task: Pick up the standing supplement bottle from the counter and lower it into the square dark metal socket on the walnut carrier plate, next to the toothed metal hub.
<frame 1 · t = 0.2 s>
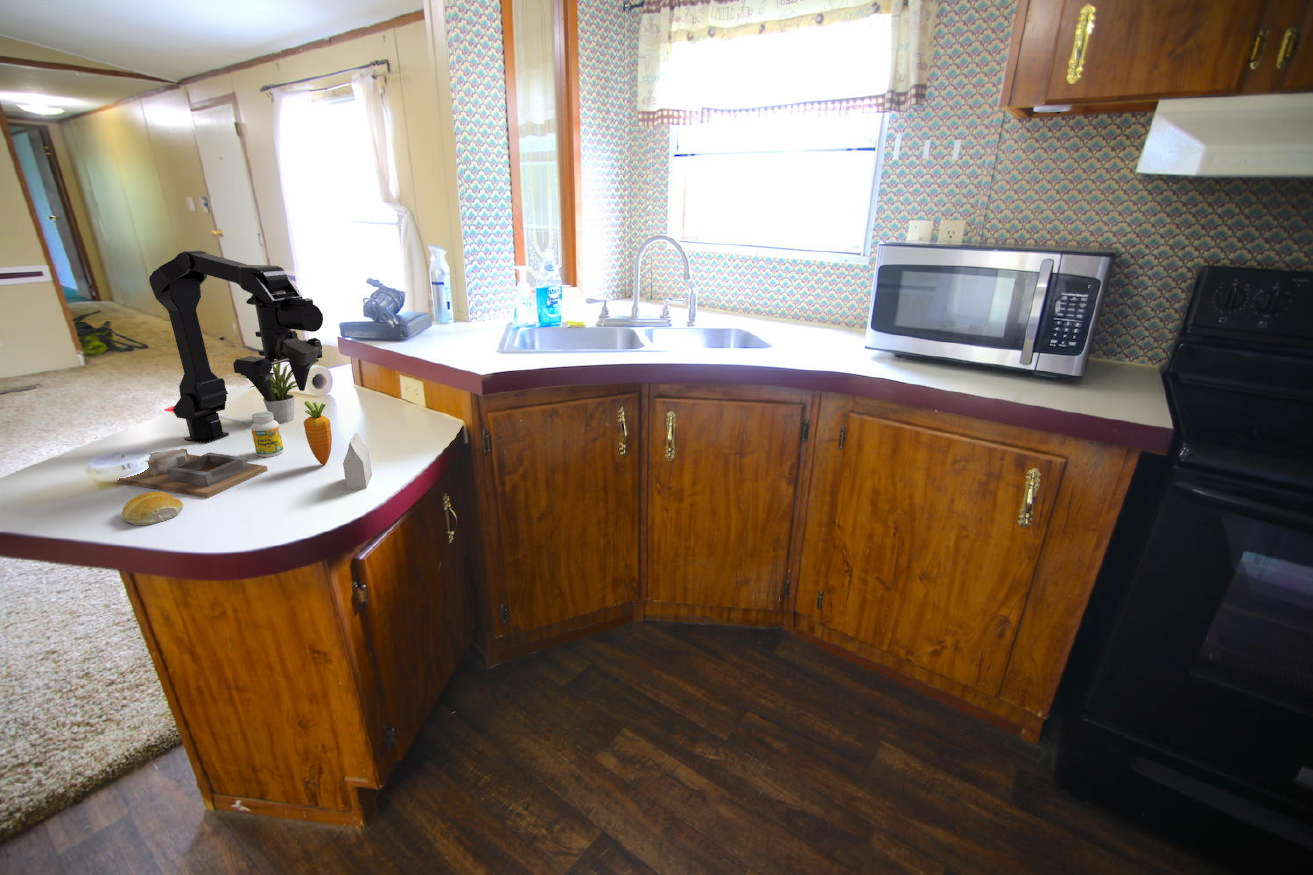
hand: (286, 396, 133), 14 cm above the worktop, tool pointing down, fingers open, 9 cm apart
gray house shaped block: (360, 483, 125), on the worktop
carrier plate: (195, 476, 124), on the worktop
bread roll: (155, 516, 108), on the worktop
carrot: (324, 466, 132), on the worktop
house plant: (287, 419, 159), on the worktop
supplement bottle: (270, 454, 137), on the worktop
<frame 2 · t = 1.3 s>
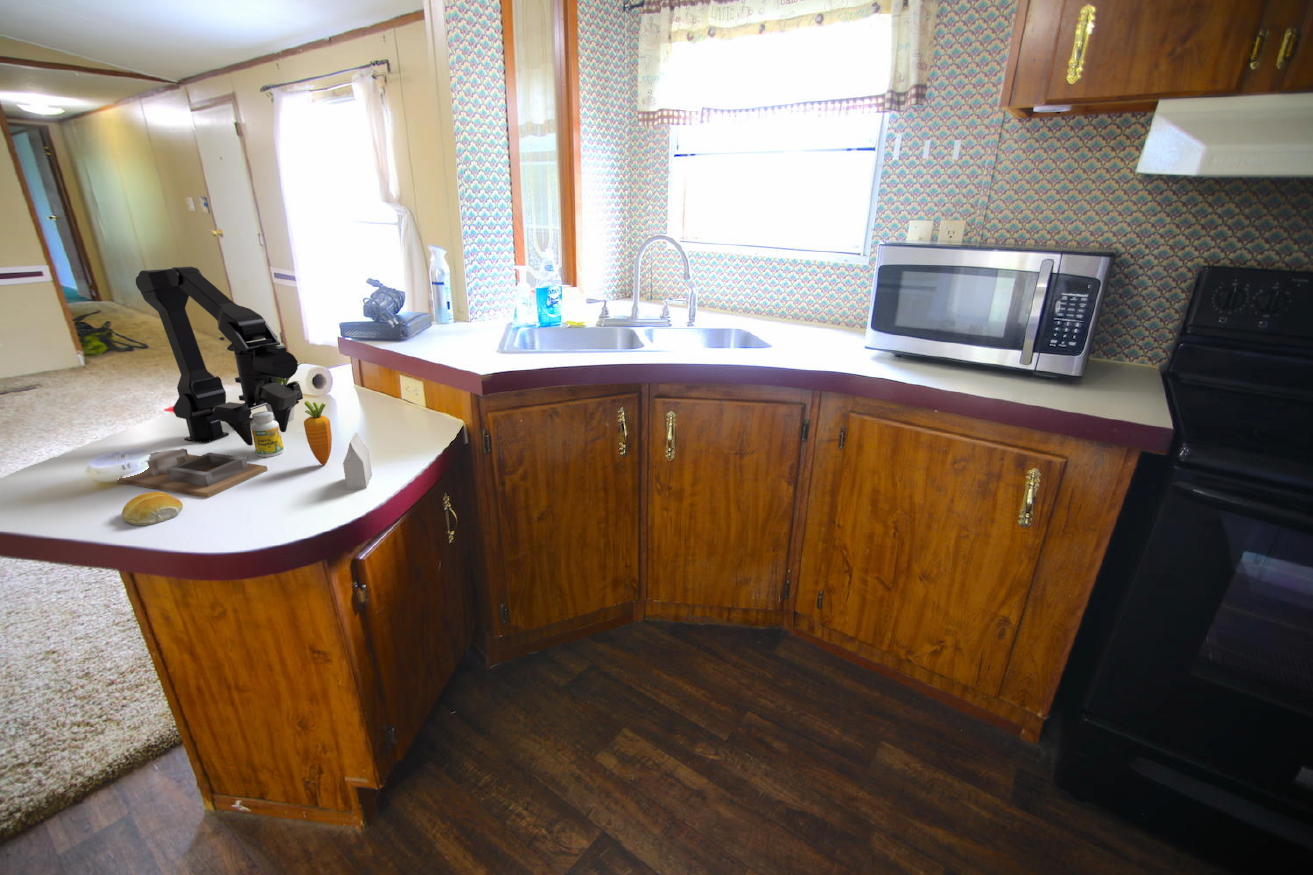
hand: (267, 438, 135), 4 cm above the worktop, tool pointing down, fingers open, 9 cm apart
nothing on the worktop moved.
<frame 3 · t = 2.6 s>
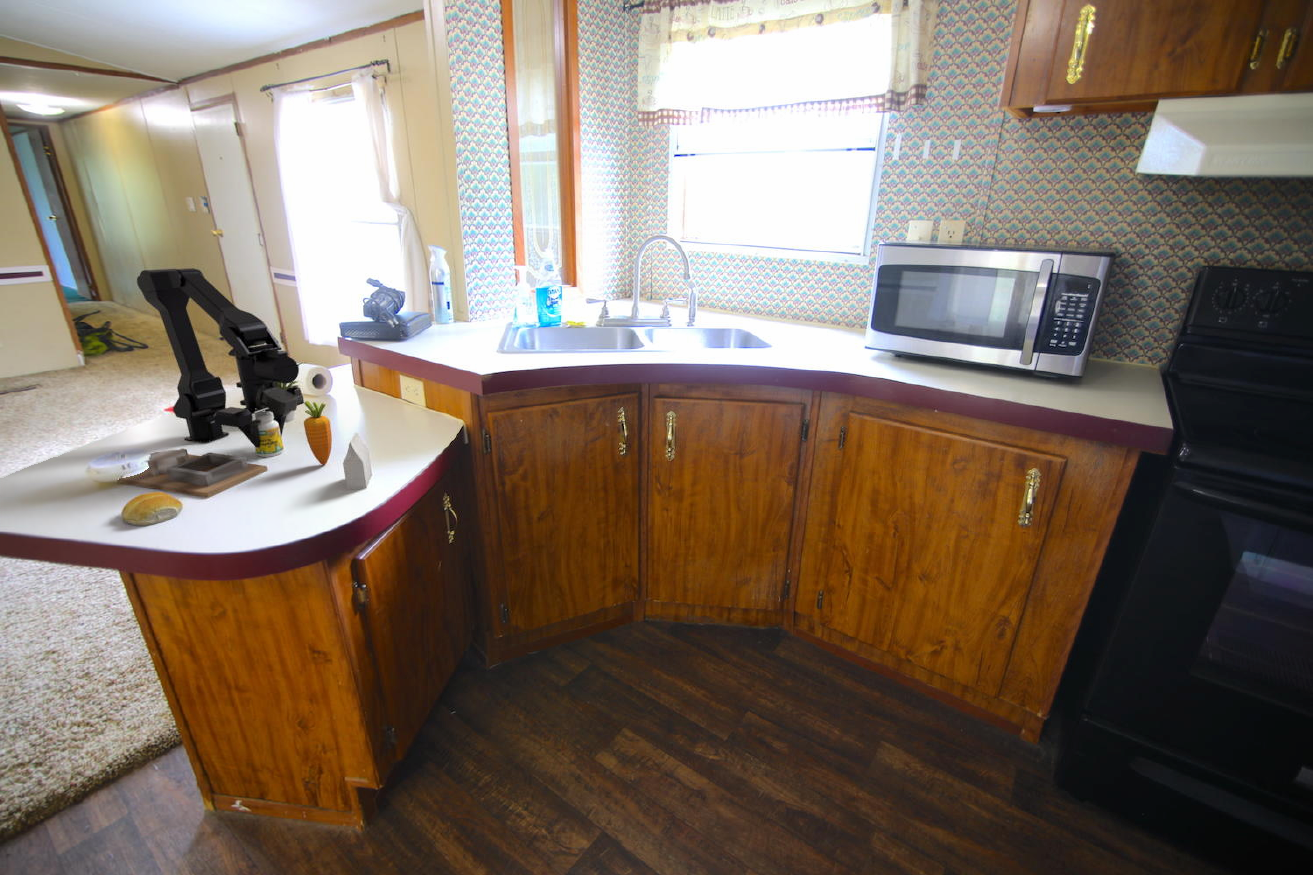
hand: (268, 442, 136), 3 cm above the worktop, tool pointing down, fingers closed on supplement bottle, 5 cm apart
supplement bottle: (270, 453, 137), on the worktop, touching gripper
everything else where it was.
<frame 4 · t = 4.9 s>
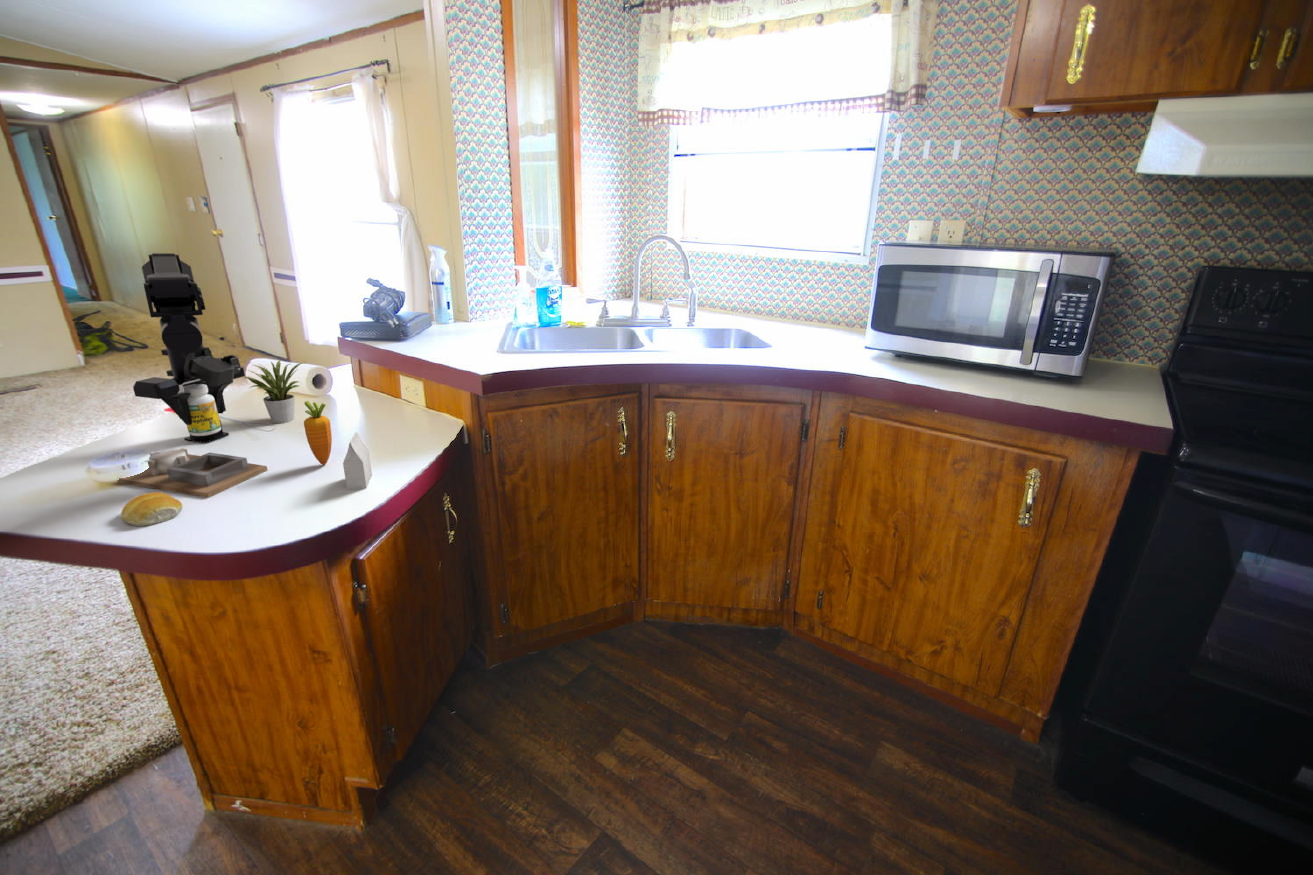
hand: (202, 420, 119), 13 cm above the worktop, tool pointing down, fingers closed on supplement bottle, 5 cm apart
supplement bottle: (205, 433, 120), point 10 cm above the worktop, touching gripper
everything else where it was.
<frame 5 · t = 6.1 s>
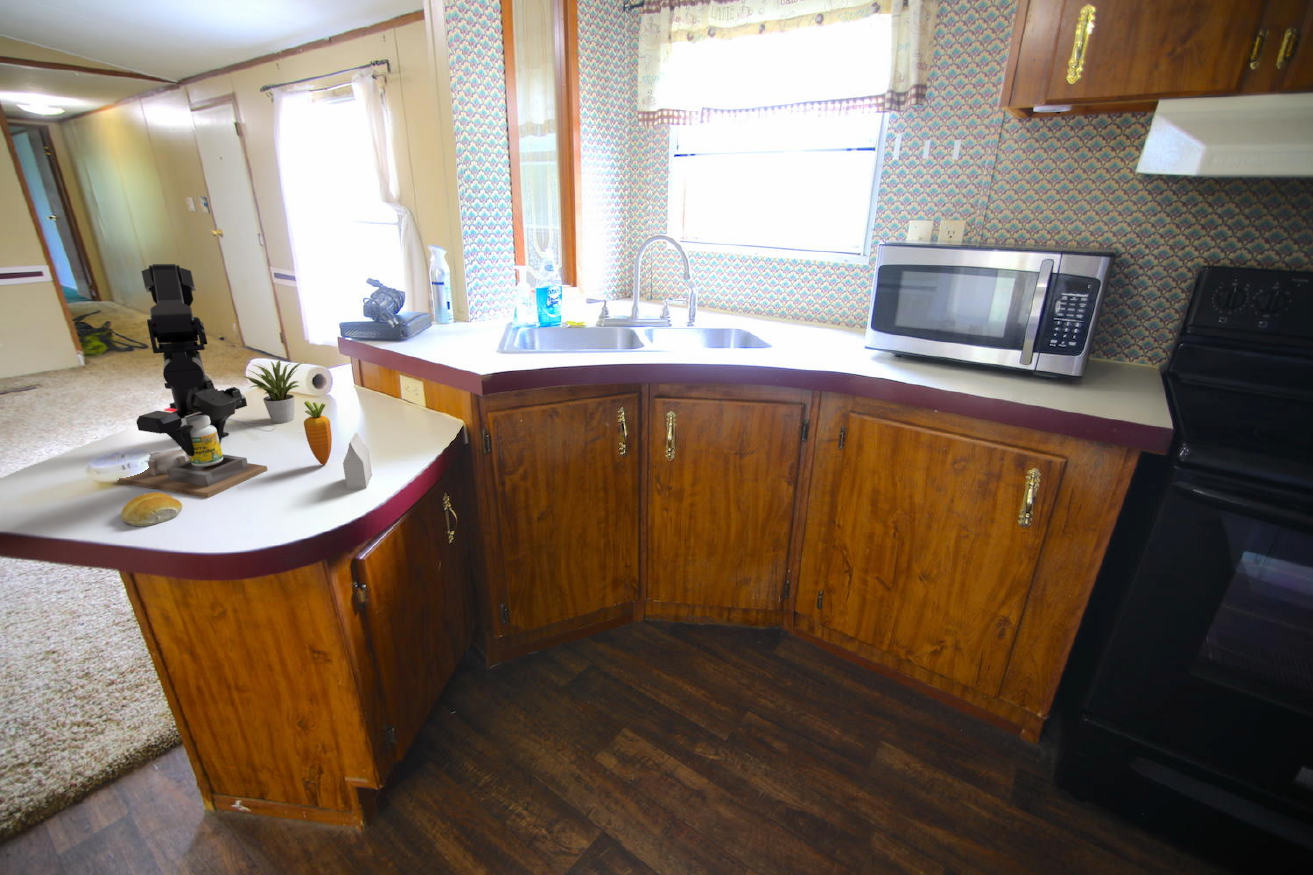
hand: (204, 450, 121), 6 cm above the worktop, tool pointing down, fingers closed on supplement bottle, 5 cm apart
supplement bottle: (207, 463, 122), point 4 cm above the worktop, touching gripper
everything else where it was.
when the fingers open (5 cm above the worktop, at t = 7.2 s): supplement bottle drops 1 cm, resting on carrier plate.
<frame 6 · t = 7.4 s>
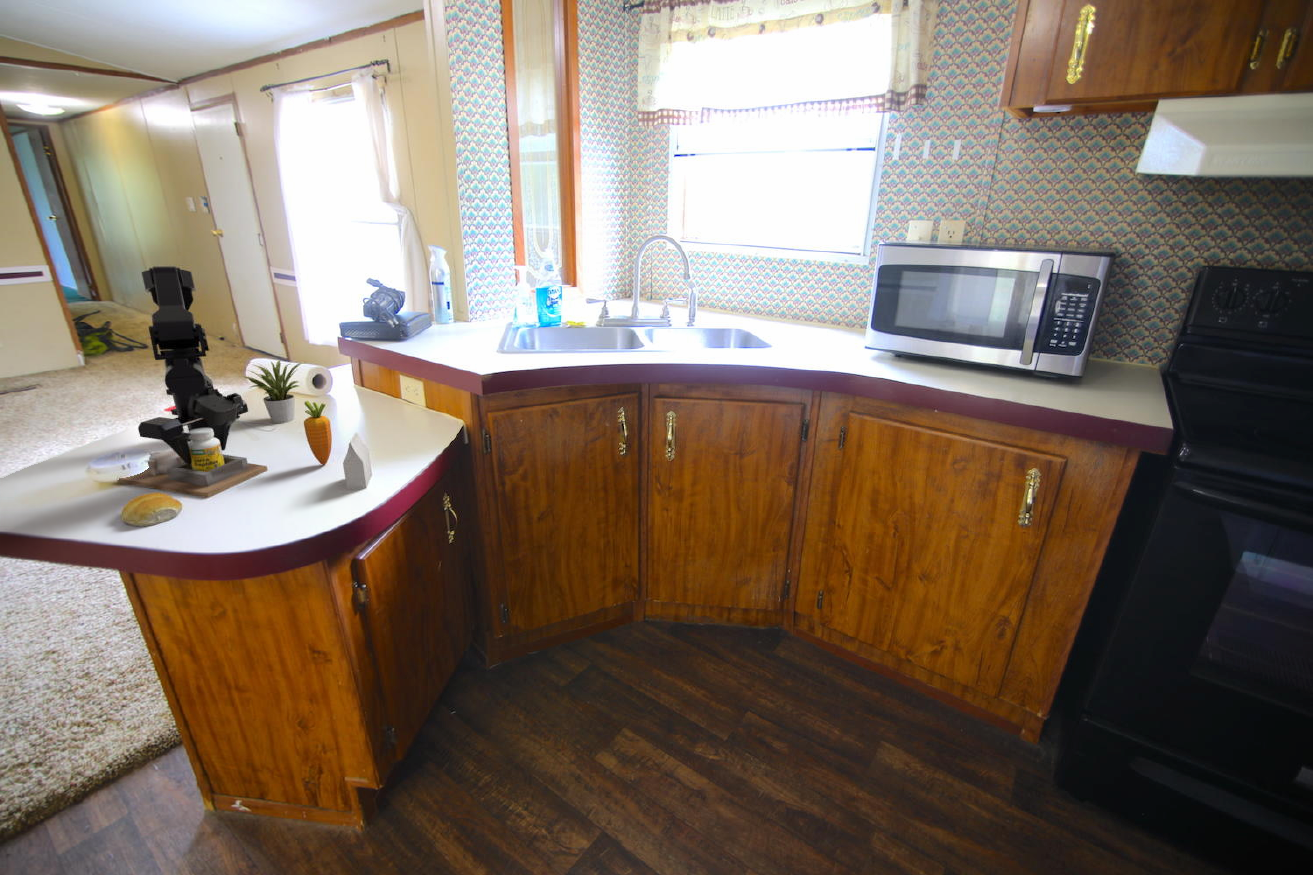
hand: (206, 456, 121), 5 cm above the worktop, tool pointing down, fingers open, 7 cm apart
supplement bottle: (210, 475, 122), point 1 cm above the worktop, touching carrier plate
everything else where it was.
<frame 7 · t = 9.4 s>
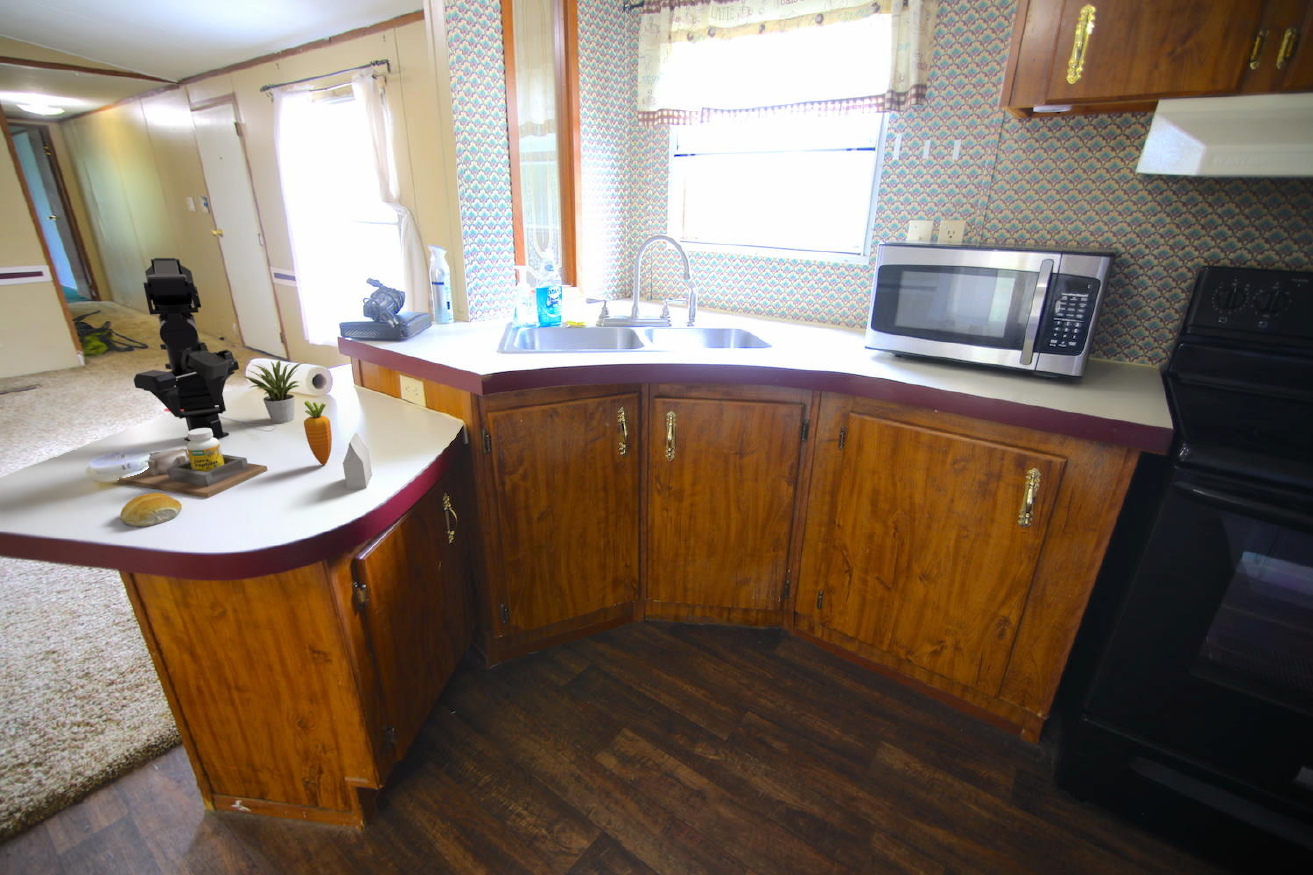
hand: (198, 410, 127), 12 cm above the worktop, tool pointing down, fingers open, 9 cm apart
nothing on the worktop moved.
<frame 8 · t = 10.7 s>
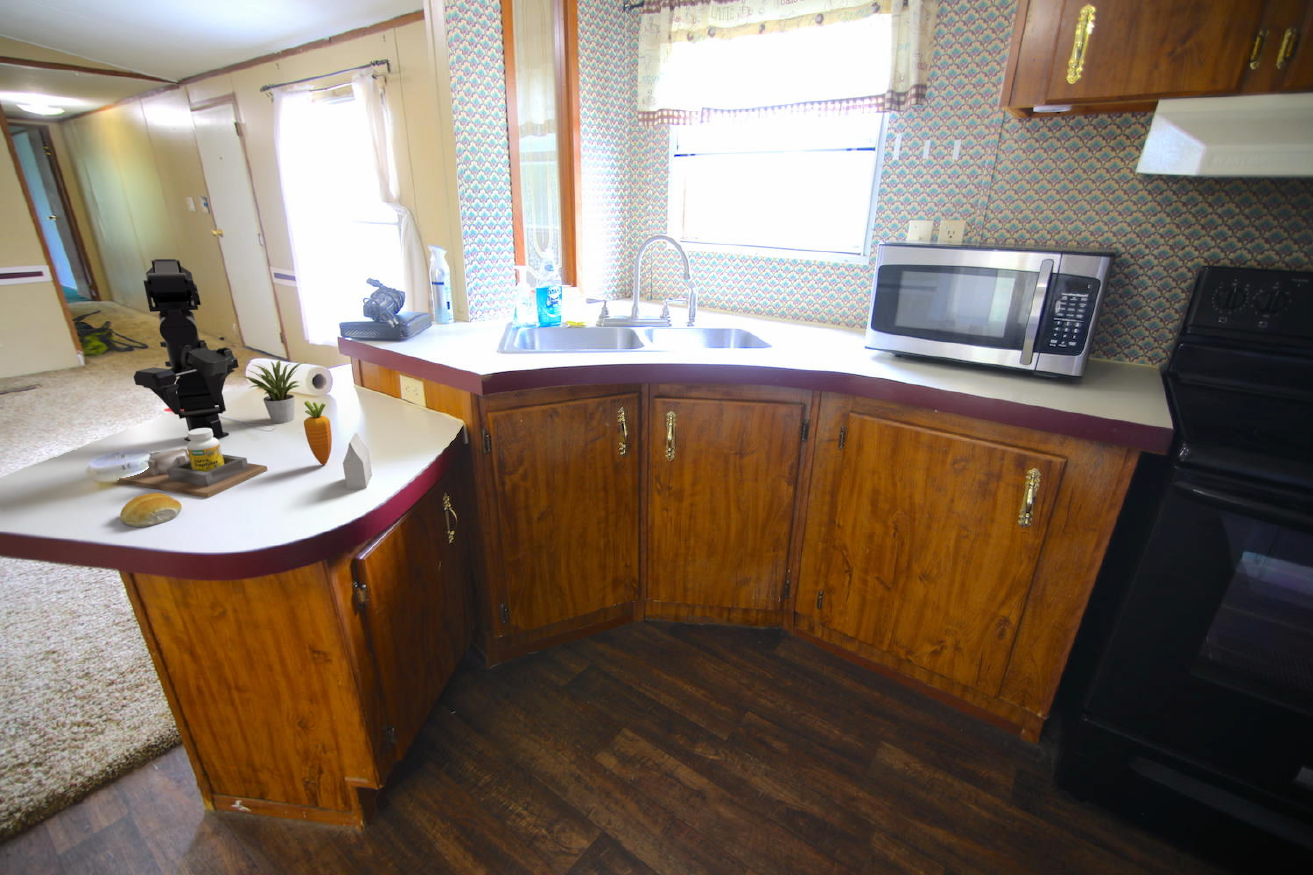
hand: (198, 408, 128), 12 cm above the worktop, tool pointing down, fingers open, 9 cm apart
nothing on the worktop moved.
at the end: supplement bottle 0.0 cm from the target spot on the carrier plate, point 0.8 cm above the carrier plate's base; supplement bottle tilted 0°; the gripper is holding nothing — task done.
